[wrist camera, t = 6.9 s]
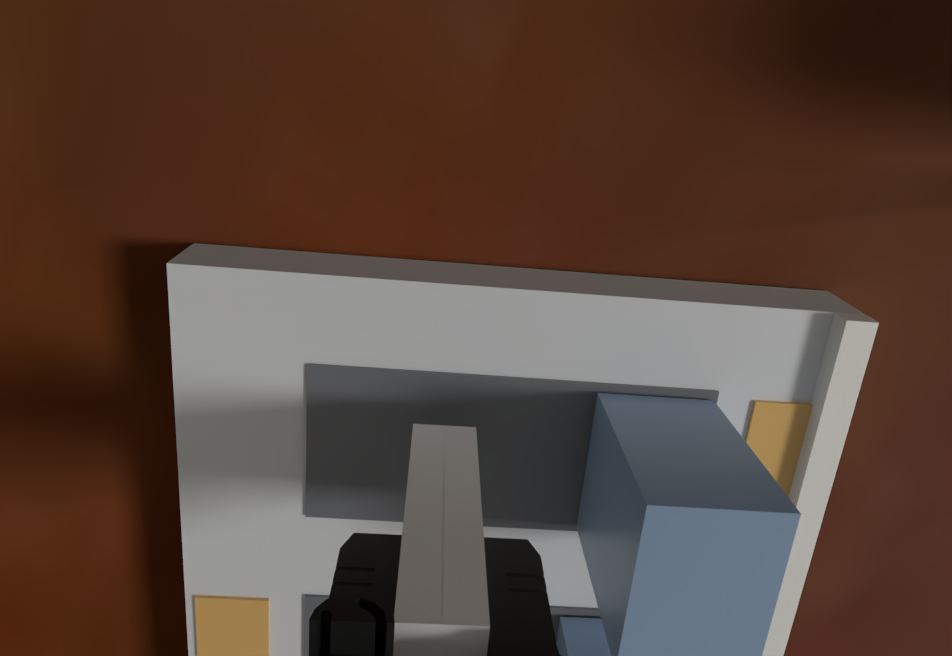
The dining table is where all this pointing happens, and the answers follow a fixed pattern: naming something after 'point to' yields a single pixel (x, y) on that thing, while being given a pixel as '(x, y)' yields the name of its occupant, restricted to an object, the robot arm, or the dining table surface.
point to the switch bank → (461, 410)
